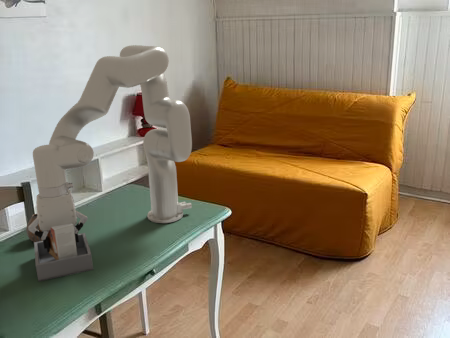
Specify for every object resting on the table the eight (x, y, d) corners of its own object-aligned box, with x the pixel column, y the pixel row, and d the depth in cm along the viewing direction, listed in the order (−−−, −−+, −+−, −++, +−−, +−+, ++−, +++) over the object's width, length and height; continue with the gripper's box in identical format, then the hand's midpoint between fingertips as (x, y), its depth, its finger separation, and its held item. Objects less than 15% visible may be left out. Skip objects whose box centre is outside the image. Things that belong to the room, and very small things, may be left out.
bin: (86, 247, 143) (84, 232, 142) (93, 269, 131) (91, 254, 129) (36, 257, 138) (34, 242, 136) (38, 281, 125) (35, 265, 124)
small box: (48, 253, 135) (43, 220, 131) (67, 247, 138) (62, 215, 135) (59, 264, 129) (53, 230, 125) (78, 257, 132) (73, 224, 129)
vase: (43, 245, 145) (39, 220, 142) (23, 244, 146) (19, 219, 143) (55, 235, 151) (51, 211, 148) (36, 234, 153) (32, 210, 150)
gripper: (84, 180, 133) (91, 235, 139) (19, 190, 127) (29, 247, 133) (87, 189, 127) (94, 246, 133) (19, 199, 120) (30, 259, 126)
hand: (62, 246), depth 133 cm, fingers closed on small box, 6 cm apart
